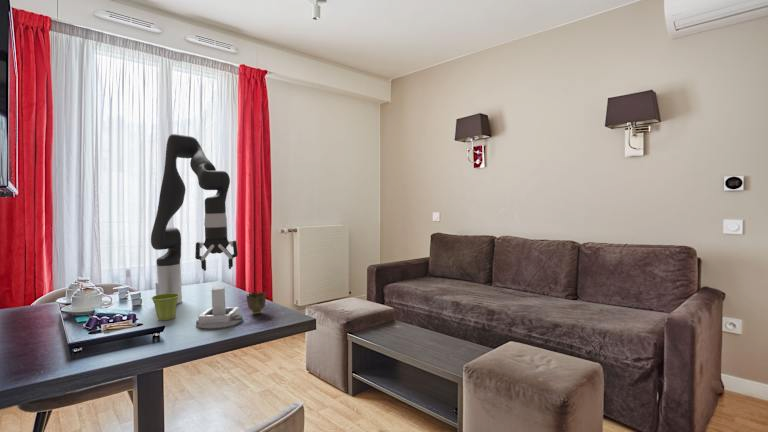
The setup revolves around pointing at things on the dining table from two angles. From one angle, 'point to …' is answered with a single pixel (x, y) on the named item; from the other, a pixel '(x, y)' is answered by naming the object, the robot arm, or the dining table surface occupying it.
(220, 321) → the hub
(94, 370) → the dining table surface
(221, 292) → the skincare box
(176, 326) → the dining table surface
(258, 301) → the cup
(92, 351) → the dining table surface
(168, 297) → the plant pot
